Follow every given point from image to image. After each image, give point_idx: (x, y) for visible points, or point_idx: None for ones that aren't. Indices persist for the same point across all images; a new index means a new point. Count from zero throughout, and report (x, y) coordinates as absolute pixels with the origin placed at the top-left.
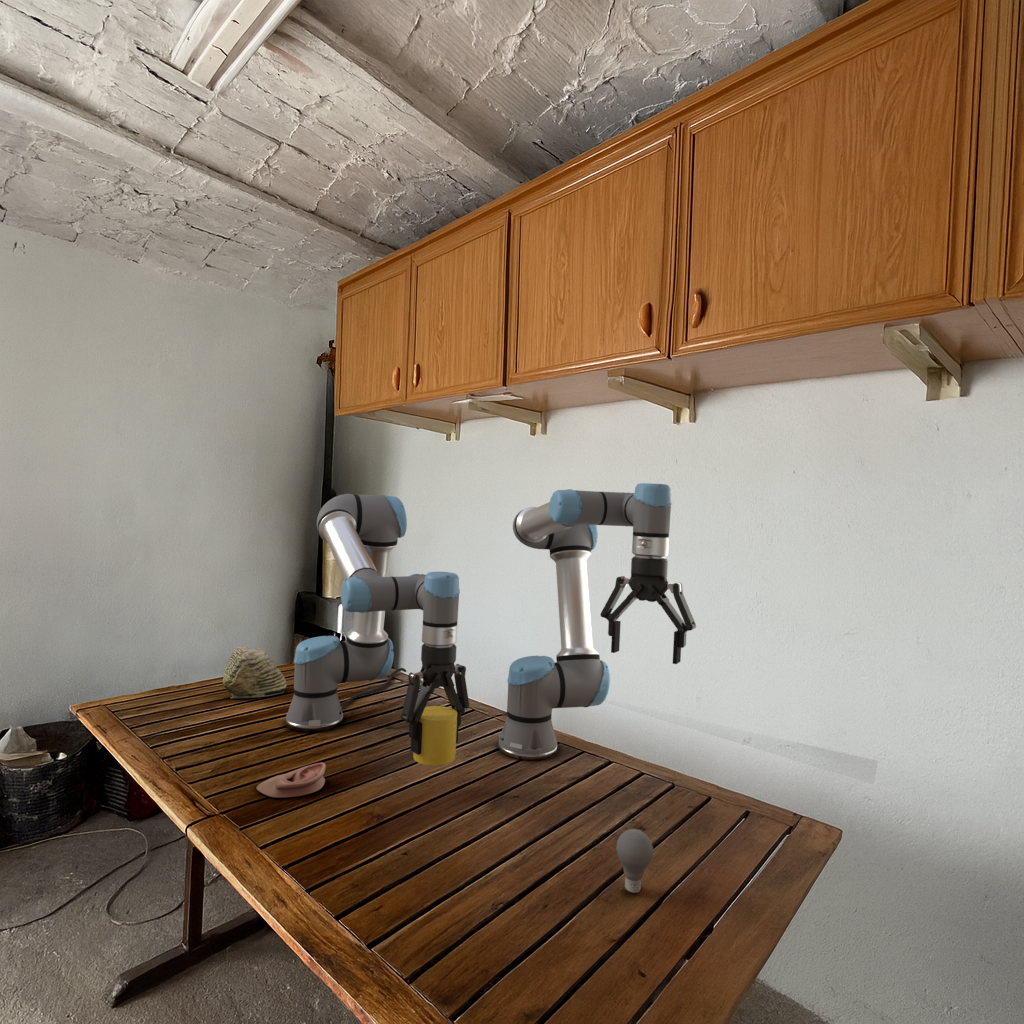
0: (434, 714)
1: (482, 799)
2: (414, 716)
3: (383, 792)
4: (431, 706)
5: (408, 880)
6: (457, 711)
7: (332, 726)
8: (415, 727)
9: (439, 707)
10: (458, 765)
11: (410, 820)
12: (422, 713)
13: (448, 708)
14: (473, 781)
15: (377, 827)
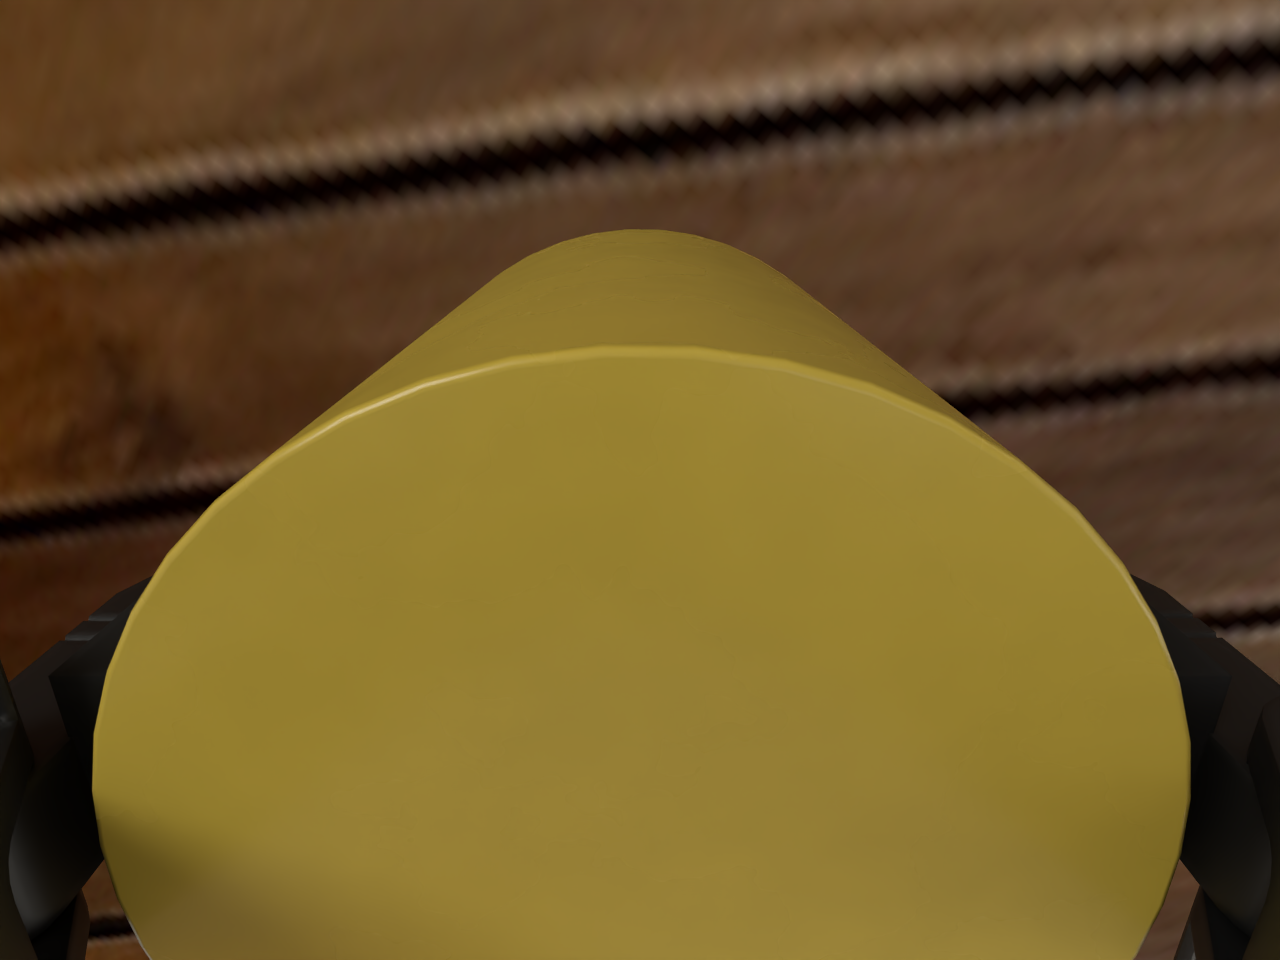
0: (536, 929)
1: None
2: (12, 804)
3: (323, 120)
4: (872, 437)
5: (97, 944)
6: (1203, 880)
7: None
8: None
9: (996, 636)
10: (1159, 67)
11: None
12: (304, 744)
13: (1113, 813)
14: (1000, 403)
15: (106, 534)
